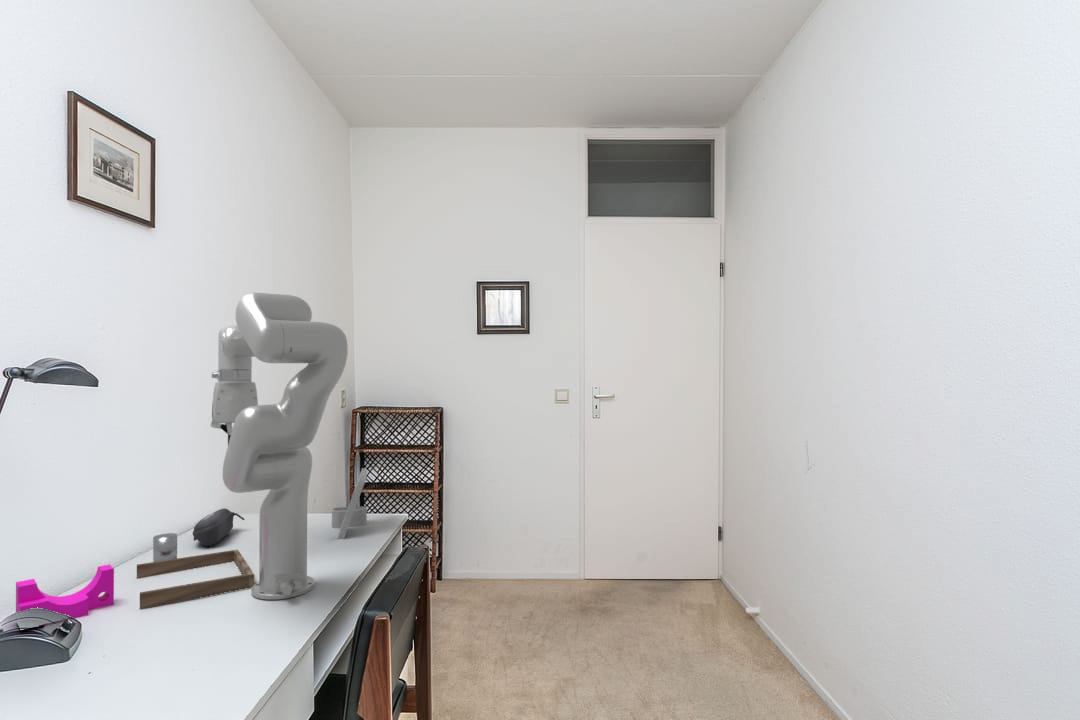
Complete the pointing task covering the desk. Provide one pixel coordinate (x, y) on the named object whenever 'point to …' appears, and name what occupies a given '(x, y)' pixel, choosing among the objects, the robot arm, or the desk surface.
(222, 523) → the glasses case
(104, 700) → the desk surface
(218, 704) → the desk surface
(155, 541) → the metal peg
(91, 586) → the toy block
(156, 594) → the bay
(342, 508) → the phone holder
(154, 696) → the desk surface
